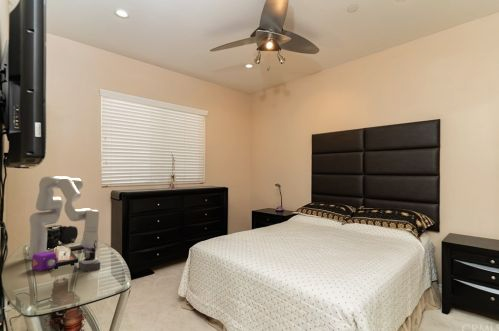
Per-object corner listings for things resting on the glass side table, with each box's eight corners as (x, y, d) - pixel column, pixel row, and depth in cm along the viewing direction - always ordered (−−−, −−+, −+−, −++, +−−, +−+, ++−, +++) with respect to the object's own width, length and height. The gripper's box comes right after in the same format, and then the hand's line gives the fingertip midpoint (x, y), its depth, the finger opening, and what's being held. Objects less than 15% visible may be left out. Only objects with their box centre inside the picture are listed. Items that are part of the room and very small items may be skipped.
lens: (82, 261, 168) (83, 247, 168) (91, 258, 172) (91, 246, 172) (87, 262, 165) (88, 249, 165) (95, 260, 169) (96, 247, 170)
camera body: (78, 267, 169) (78, 258, 169) (94, 264, 176) (94, 255, 176) (83, 272, 161) (84, 262, 161) (100, 268, 167) (100, 259, 168)
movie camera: (47, 251, 197) (49, 227, 199) (30, 249, 203) (32, 226, 204) (84, 243, 227) (86, 222, 229) (69, 242, 232) (70, 221, 234)
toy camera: (46, 273, 158) (47, 256, 158) (27, 270, 160) (28, 254, 161) (62, 267, 168) (63, 251, 169) (44, 264, 171) (45, 249, 171)
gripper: (77, 228, 170) (76, 256, 169) (93, 231, 162) (91, 261, 161) (89, 226, 177) (87, 254, 176) (105, 229, 168) (103, 258, 168)
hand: (89, 257), depth 169 cm, fingers closed on lens, 5 cm apart
